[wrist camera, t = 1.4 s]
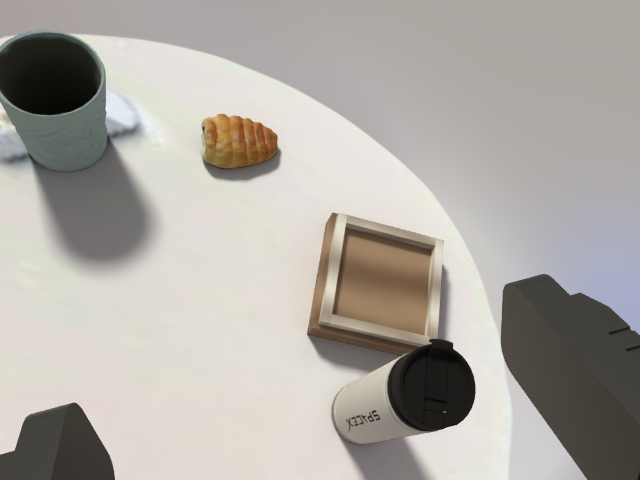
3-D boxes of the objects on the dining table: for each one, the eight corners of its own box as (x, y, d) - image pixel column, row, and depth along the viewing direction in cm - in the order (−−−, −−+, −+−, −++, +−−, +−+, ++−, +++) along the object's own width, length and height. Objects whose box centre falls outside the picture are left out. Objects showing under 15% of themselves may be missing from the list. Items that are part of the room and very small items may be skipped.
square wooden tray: (424, 360, 62) (441, 353, 58) (307, 334, 60) (316, 324, 56) (432, 250, 68) (447, 237, 64) (326, 223, 66) (335, 207, 62)
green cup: (43, 93, 63) (17, 16, 53) (129, 120, 65) (120, 49, 54) (4, 164, 59) (-33, 94, 48) (97, 191, 60) (81, 129, 50)
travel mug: (388, 385, 60) (480, 345, 42) (384, 448, 57) (480, 435, 39) (334, 375, 59) (404, 330, 41) (327, 439, 56) (399, 421, 38)
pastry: (272, 126, 70) (278, 108, 66) (278, 171, 67) (284, 156, 64) (198, 124, 67) (199, 105, 64) (201, 171, 65) (203, 155, 61)
